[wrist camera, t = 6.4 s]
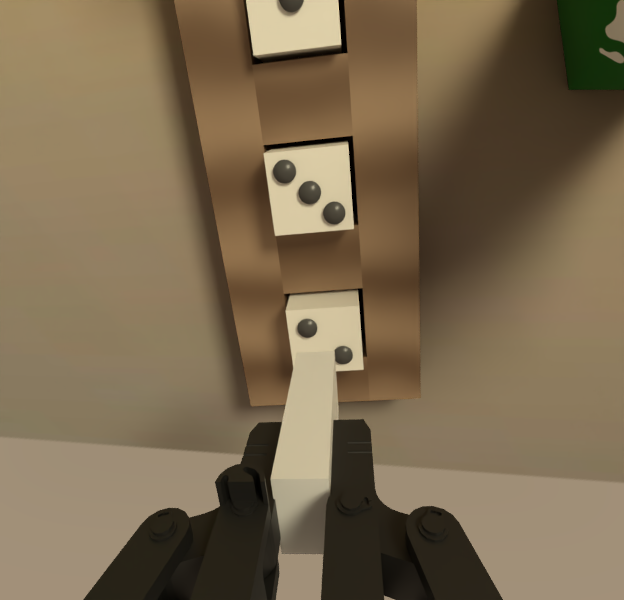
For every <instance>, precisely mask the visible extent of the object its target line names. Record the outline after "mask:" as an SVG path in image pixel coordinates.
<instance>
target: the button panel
mask: <svg viewBox="0 0 624 600" xmlns="http://www.w3.org/2000/svg"><path fill="white" fill-rule="evenodd" d="M174 3H175V9H176V14H177V19H178V25H179V30H180V35H181V40H182V46H183V51H184V56H185V61H186V67H187V72H188V77H189V83H190V88H191V93H192V98H193V104H194V109H195V114H196V119H197V125H198V130H199V135H200V141H201V146H202V151H203V156H204V162H205V167H206V172H207V177H208V183H209V188H210V193H211V199H212V204H213V209H214V214H215V220H216V225H217V230H218V235H219V241H220V246H221V251H222V256H223V262H224V267H225V272H226V278H227V283H228V288H229V293H230V299H231V304H232V309H233V314H234V320H235V325H236V330H237V336H238V341H239V346H240V351H241V357H242V362H243V367H244V372H245V378H246V383H247V388H248V394H249V399H250V404H251V406H268V405H286V402H287V397H288V392H289V387H290V382H291V377H292V372H293V361H292V354H291V347H290V340H289V333H288V326H287V318H286V307H287V304H288V300H289V297H290V293H302V292H315V291H329V290H343V289H356V288H362V300H363V315H364V331H365V336H362V337H361V338H362V353H363V368H364V370H351V371H336V379H337V393H338V402H351V401H372V400H392V399H413V398H421V392H420V293H419V194H418V95H417V0H343V4H344V20H345V35H346V51H347V53H343V54H335V55H327V56H319V57H311V58H303V59H296V60H288V61H280V62H272V63H264V64H261V61H260V59H258V58H257V57H255V56H254V55H253V48H252V40H251V33H250V26H249V18H248V11H247V4H246V0H174ZM345 136H352V144H353V160H354V175H355V191H356V206H357V214H356V215H353V221H354V229H349V230H338V231H326V232H314V233H303V234H291V235H280V236H275V232H274V225H273V218H272V211H271V204H270V197H269V189H268V182H267V175H266V168H265V161H264V153H265V152H267V151H269V150H271V149H272V144H280V143H289V142H298V141H308V140H317V139H326V138H336V137H345Z"/></svg>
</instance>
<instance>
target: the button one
mask: <svg viewBox="0 0 624 600" xmlns="http://www.w3.org/2000/svg"><path fill="white" fill-rule="evenodd" d="M246 4H247V11H248V18H249V26H250V33H251V40H252V48H253V55H254V56H255V57H257V58H258V59H260V60H261V61H263V62H265V63H266V62H274V61H282V60H290V59H298V58H306V57H314V56H322V55H330V54H338V53H341V33H340V18H339V4H338V0H246Z"/></svg>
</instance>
